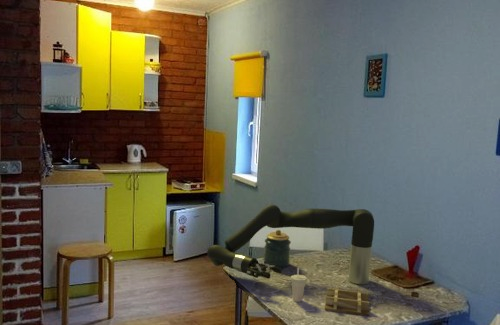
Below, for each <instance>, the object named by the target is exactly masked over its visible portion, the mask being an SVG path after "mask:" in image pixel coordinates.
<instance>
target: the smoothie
mask: <svg viewBox="0 0 500 325" xmlns="http://www.w3.org/2000/svg"><path fill="white" fill-rule="evenodd" d="M296 271H297V272H296V274H293V275H291V276H290V280H291V288H292V289H291V290H292V291H291V292H292V301H293V302H295V303H301V302H302V301H303V297H304V291H305V287H306V286H305V285H306V282H307V281H308V280H307V279H308V278H307V276H305V275H303V274H299V272H300V266H297V270H296Z"/></svg>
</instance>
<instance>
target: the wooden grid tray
mask: <svg viewBox="0 0 500 325" xmlns="http://www.w3.org/2000/svg"><path fill="white" fill-rule="evenodd" d="M369 296H370V293H369V292H364V291H362V290H361V289H360V288H357V291H355V290H350V289H349V290H347V289H341V288H340V289H339V286H338V285H336V286H334V287H333V288H331V287H327V288H326V296H325V306H324V311H326V312H327V311H328V312H336V313H344V314H351V315H357V316H363V317H364V316H366V317H370V303H371V302H370V301H369V299H370V298H369Z"/></svg>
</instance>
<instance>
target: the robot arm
mask: <svg viewBox="0 0 500 325" xmlns="http://www.w3.org/2000/svg"><path fill="white" fill-rule="evenodd" d="M265 227H267V228H269V229H282V228H283V229H284V228H300V229H301V228H302V229H319V230H321V229H324V230H325V229H331V228H336V227H352V231H351V232H352V234H351V242H350V243H351V244H350V252H349V253H350V256H349V266H348V267H349V270H348V281H349V282H350V283H352V284H356V285H367V284H369V282H370V273H371V260H372V259H371V258H372V248H373V240H374V233H375V232H374V230H375V218H374V215H373V214H372V212H371V211H370V210H368V209H364V208H363V209H361V208H359V209H349V210H348V209H347V210H345V209H344V210H341V209H332V208H331V209H330V208H305V209H302V210H298V211H294V212H293V211H292V212H289V211H282V210H281V209H280V207H279V206H278V205H275V204H269V205H267V206H265V207H264V208H263V209H262V210H261V211H260V212H258V214H256V216H255V217H254V218H252V220H250V221H249V222H248V223H247V224H245V225H244V226H243V227H242V228H241V229H239V230H238V231H237V232H236V231H235V233H234V234H232V235H231V236H229V237H228V238H227V239H226V240H225V241H224V245H225V246H224V247H223V246H222V245H218V244H213V245H210V246H209V247H208V248H207V252H206V254H207V257H208V258H209V260H210V261H211V263H213V265H214V266H216V267H220V266H223V265H224V266H226V267H227V268H229V269H233V270H235V271H237V272H240V273H243V274H246V275H248V276H251V277H253V278H257V279H258V278H261V277H262V278H265V279H271V273H270V272H273V273H276V274H282V273H283V272H282V270H283V268H278V267H276V264H273V263H270V262H266V261H265V262H264V261H263V262H259V261H258V259H257V258H256V257H253V256H249V255H245V254H240V253H237V251H238V250H240V249H241V248H243V247H244V246H245V245H246V244H247V243H249V241H251V240H252V238H254V236H255V235H256V234H257V233H258V232H259V231H261V230H262V229H263V228H265Z"/></svg>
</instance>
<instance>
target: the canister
mask: <svg viewBox="0 0 500 325" xmlns="http://www.w3.org/2000/svg"><path fill="white" fill-rule="evenodd" d="M264 242H265V245H264V246H263V247H264V252H263V253H264V254H263V263H264V262H265V261H266V262H270V263H273V264H276V267H278V268H281V269H284V268H287V267H289V264H290V256H291V248H290V244H291V240H290V236H289V235H288V234H286V233H284V232H281V230H280V229H276V230H275V231H274V232H270V233H268V234H267V235H266V238H265V239H264Z"/></svg>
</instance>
